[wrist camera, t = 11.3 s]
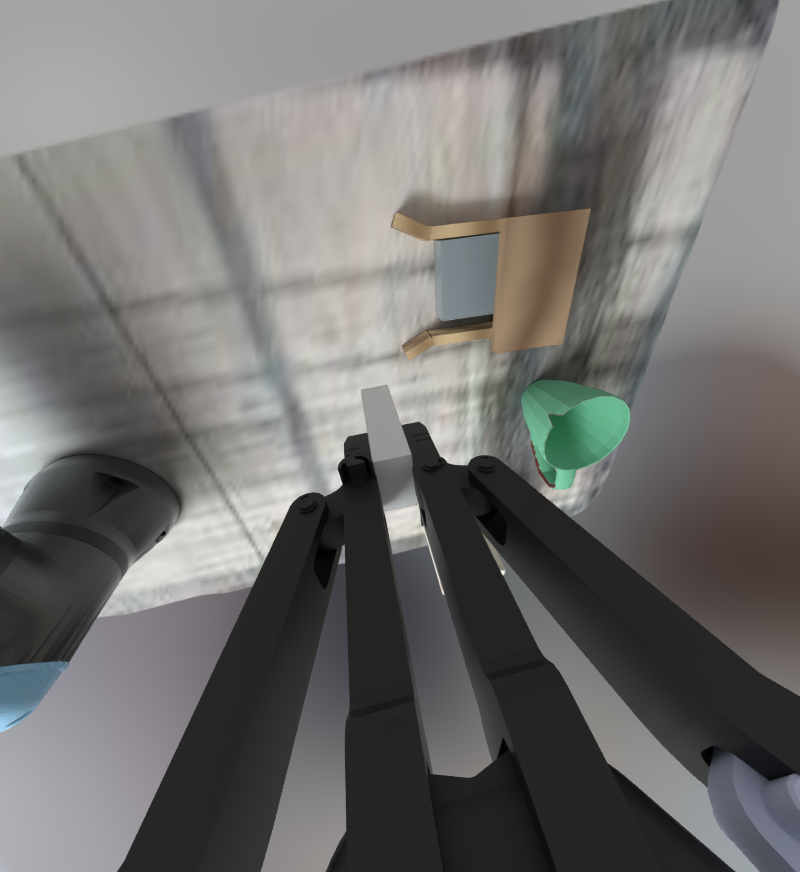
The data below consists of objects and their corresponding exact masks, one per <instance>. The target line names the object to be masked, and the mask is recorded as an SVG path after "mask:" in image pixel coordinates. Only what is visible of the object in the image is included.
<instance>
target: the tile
mask: <svg viewBox="0 0 800 872" xmlns="http://www.w3.org/2000/svg"><path fill="white" fill-rule="evenodd" d="M499 234H500V232H495V233H488V234H480V235H472V236H464V237H457V238H449V239H441V240H434V268H435V297H436V316H437V317H438V318H439V319H441V320H442V321H448V320H455V319H462V318H468V317H475V316H482V315H488V314H493V312H494V299H495V286H496V273H497V260H498V247H499Z"/></svg>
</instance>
